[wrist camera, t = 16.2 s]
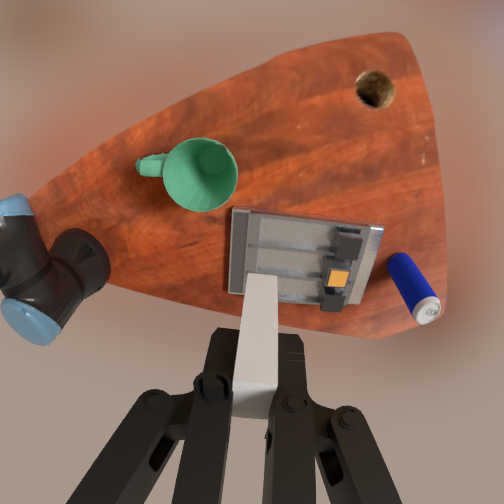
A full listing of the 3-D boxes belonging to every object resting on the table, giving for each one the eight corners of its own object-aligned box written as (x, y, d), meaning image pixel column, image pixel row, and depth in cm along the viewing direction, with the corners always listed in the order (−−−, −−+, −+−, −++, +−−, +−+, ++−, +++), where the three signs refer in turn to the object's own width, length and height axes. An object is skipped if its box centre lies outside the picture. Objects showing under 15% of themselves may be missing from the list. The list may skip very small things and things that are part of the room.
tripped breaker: (321, 273, 50) (324, 287, 47) (325, 255, 49) (329, 268, 45) (341, 275, 50) (345, 289, 47) (346, 257, 49) (351, 270, 45)
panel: (229, 288, 55) (225, 306, 51) (233, 205, 47) (228, 218, 42) (357, 299, 55) (364, 317, 50) (382, 223, 47) (392, 237, 42)
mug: (248, 134, 41) (242, 142, 32) (240, 193, 46) (232, 217, 37) (158, 126, 41) (130, 134, 32) (155, 183, 46) (130, 203, 37)
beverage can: (382, 272, 51) (409, 325, 38) (391, 249, 49) (423, 299, 36) (404, 275, 51) (433, 325, 38) (413, 253, 49) (447, 301, 36)
